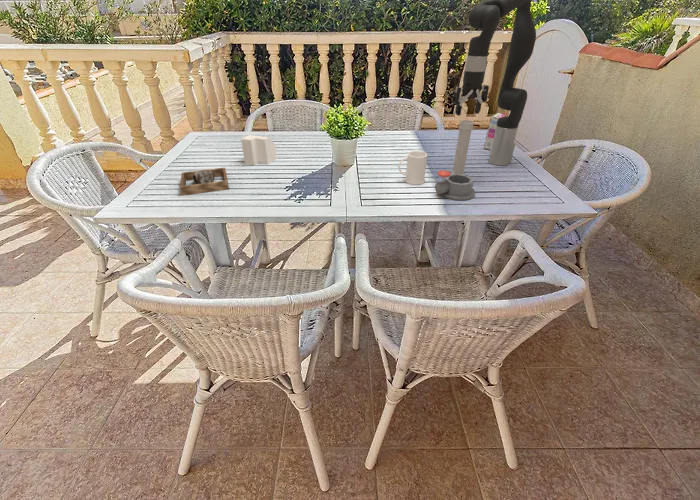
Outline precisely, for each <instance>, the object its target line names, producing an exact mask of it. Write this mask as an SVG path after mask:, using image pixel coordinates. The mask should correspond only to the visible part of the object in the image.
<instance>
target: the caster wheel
mask: <svg viewBox="0 0 700 500" xmlns="http://www.w3.org/2000/svg"><path fill="white" fill-rule="evenodd" d="M207 170H208V169H207ZM194 173H195V175H193V179H194V180H193V182H194V183H196V184H203V183H211V182H214V180H215V177H214V174H212V173H211V170H208V171H202V172H194Z"/></svg>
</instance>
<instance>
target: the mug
mask: <svg viewBox="0 0 700 500" xmlns="http://www.w3.org/2000/svg"><path fill="white" fill-rule="evenodd" d="M404 161H406V171H405V172H404V171H402V170H401V164H402V163H403V162H404ZM427 162H428V153H427V152H425V151H422V150H412V151H409V152H407V156H406V157H404V158H402V159H401V160H400V162H399V164H398V171H399V172H400V174H401V175H403V176H405V178H404V181H405V183H407V184H409V185H413V186H414V185H415V186H420V185H423V184H424V183H425V182H426V181H425V178H426V168H427Z"/></svg>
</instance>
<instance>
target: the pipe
mask: <svg viewBox="0 0 700 500" xmlns="http://www.w3.org/2000/svg"><path fill="white" fill-rule="evenodd" d="M461 110H463V112H464V113H465V115H466V117H468V114H467V112H466V110H465V109H464V108H463V107H462V109H461ZM473 126H474V121H472V120H468V119H466V120H465V119H464V120H461V121H460V122H459V126H458V129H459V130H458V131H459V132H458V137H457V143H456V149H455V155H454V160H453V167H452V171H450V175H451V174H462V175H465V167H466V162H467V161H466V160H467V157H468V153H469V152H468V150H469V146H470V141H471V133H472V130H473V129H474V127H473Z"/></svg>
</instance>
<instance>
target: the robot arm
mask: <svg viewBox="0 0 700 500" xmlns="http://www.w3.org/2000/svg"><path fill="white" fill-rule="evenodd" d="M531 5H532V0H485V1H482V2H480V3H478V4H477V5H475V6H473V8H472V9H471V10H470V12H469V14H468V21H467V22H468V25H469V26H470V27H471V28H473V29H480V30H482V31H481V32H480V35H479V36H474V37H471V38H470V40H469V44H468V51H467V57H466V61H465V65H464V71H463V77H462V86H455V87H454V91H453V93H452V94H453V95H452V100H451V103H452V104H453V105H456V106H455V110H454V113H455V115H457V116H458V117H459V116H461V115H462V110H463V109H462V108H463V104H464V103H465V101H466V102H467V100H469V99H474V100H475V102H476V103H475V106H474V111H473V112H474V114H475V115H478V114H479V113H480V112H481V109H482V104H483V103H486V102H487V101H488V95H489V89H490V86H489V85H487V84H483V83H484V81H485V77H486V75H485V74H486V71H487V64H488V56H489V49H490V45H491V41H492V39H493V36H494V35H495V32H496V30H497V28H498V26H499V23H500V20H501V19H502V18H503V17H505V16H506V15H508V14H509V13H511V12H513V11H514V10H515V9H516V11H515V12H516V13H515V19H514V23H513V29H512V32H511V33H512V34H511V38H510V43H509V49H508V55H507V60H506V65H505V66H506V67H505V70H504V76H503V78H502V81H501V86H500V89H499V93H498V96H497V97H498V98H497V105H498V108H500V109H501V110H505V111H510V112H509V114H508V116H507V115H506V117H502V118H499V119H498V121H497V125H496V129H495V134H494V139H493V143H492V148H491V150H490V152H489V158H488V162H489V164H491V165H496V166H503V167H504V166H507V165H509V164H511V162H512V158H513V155H514V150H515V147H516V143H515V140H516V136H517V132H518V128H519V125H520V121H521V119H522V117H523V115H524V110H525V107H526V104H527V100H528V92H527V89H523V88H519V87H518V88H517V87H514V84H515V80H516V77H517V76H518V74H519V73H520V71H521V70H522V68H523V67H524V66H525V65H526V64H527V63H528V61H529V60H530V59H531V57H532V55H533V52H534V49H535V48H534V47H535V45H536V39H537V31H536V27H535V24H534V20H533V17H532V13H531V12H532V11H531Z"/></svg>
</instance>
